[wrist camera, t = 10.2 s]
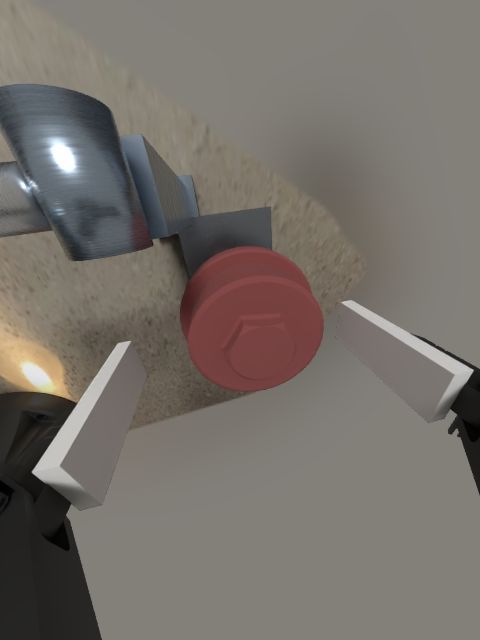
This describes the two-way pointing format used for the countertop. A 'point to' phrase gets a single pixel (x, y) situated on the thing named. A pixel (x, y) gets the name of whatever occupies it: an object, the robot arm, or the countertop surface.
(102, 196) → the lever
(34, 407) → the robot arm
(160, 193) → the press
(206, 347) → the mechanical component
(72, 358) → the countertop surface
